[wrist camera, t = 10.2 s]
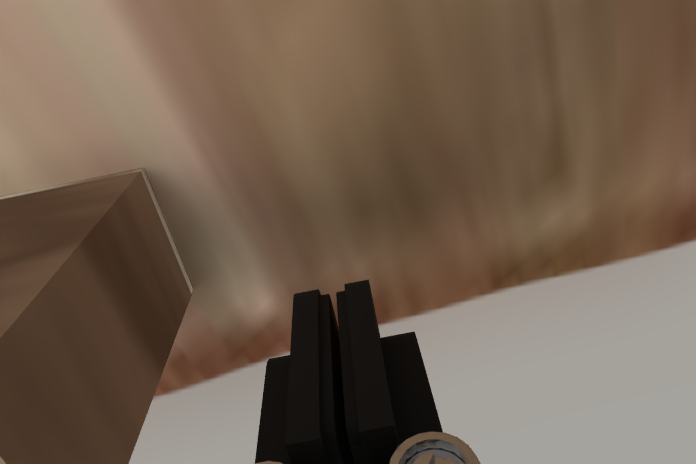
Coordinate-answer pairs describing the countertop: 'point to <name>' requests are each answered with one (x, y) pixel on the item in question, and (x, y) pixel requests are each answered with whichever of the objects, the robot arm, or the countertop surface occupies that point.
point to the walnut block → (84, 318)
